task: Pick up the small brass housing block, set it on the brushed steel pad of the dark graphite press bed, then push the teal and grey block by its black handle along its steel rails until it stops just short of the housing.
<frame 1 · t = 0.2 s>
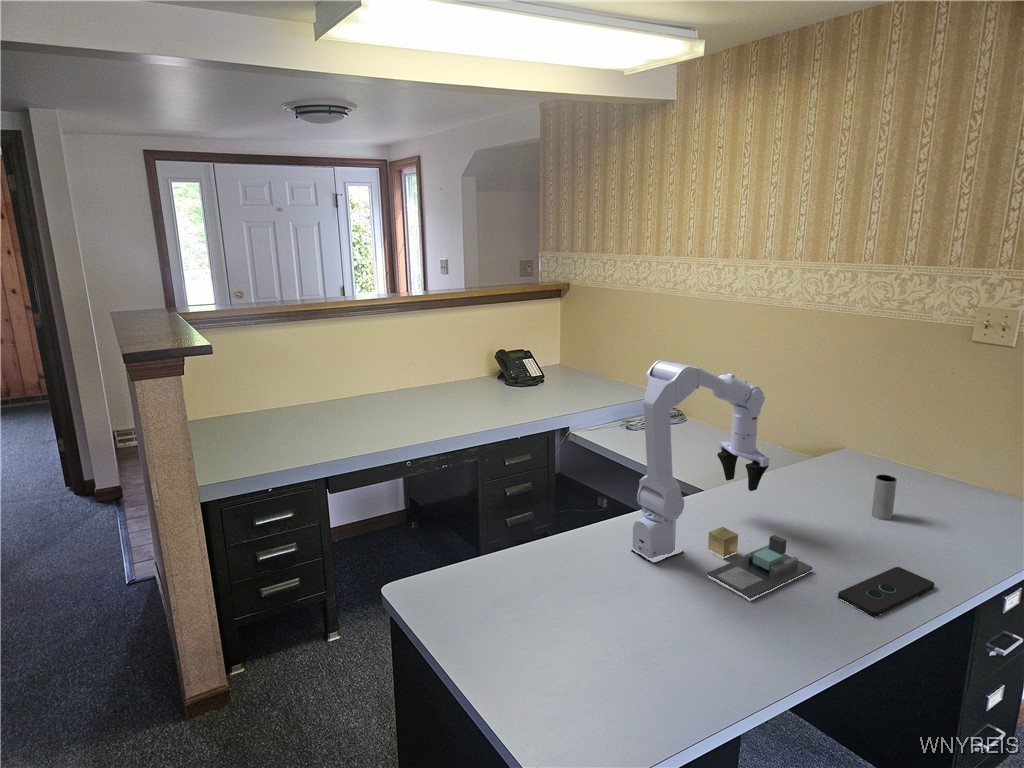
hand: (740, 484, 161), 10 cm above the table, tool pointing down, fingers open, 7 cm apart
teal and grey block: (770, 551, 140), point 5 cm above the table, slide at 0.0 cm
smart home device: (885, 595, 131), on the table
planter: (881, 516, 164), on the table
housing: (722, 553, 149), on the table
press bed: (759, 574, 139), on the table
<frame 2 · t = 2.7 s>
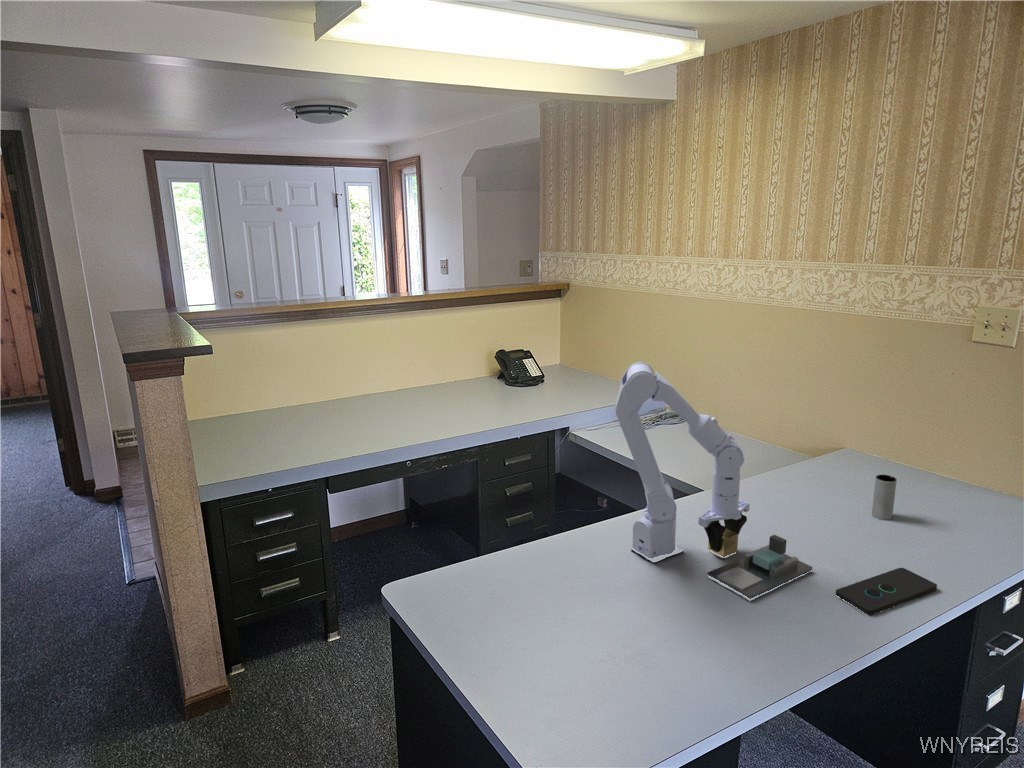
hand: (722, 547, 149), 1 cm above the table, tool pointing down, fingers closed on housing, 4 cm apart
housing: (722, 552, 149), on the table, touching gripper
everything else where it was.
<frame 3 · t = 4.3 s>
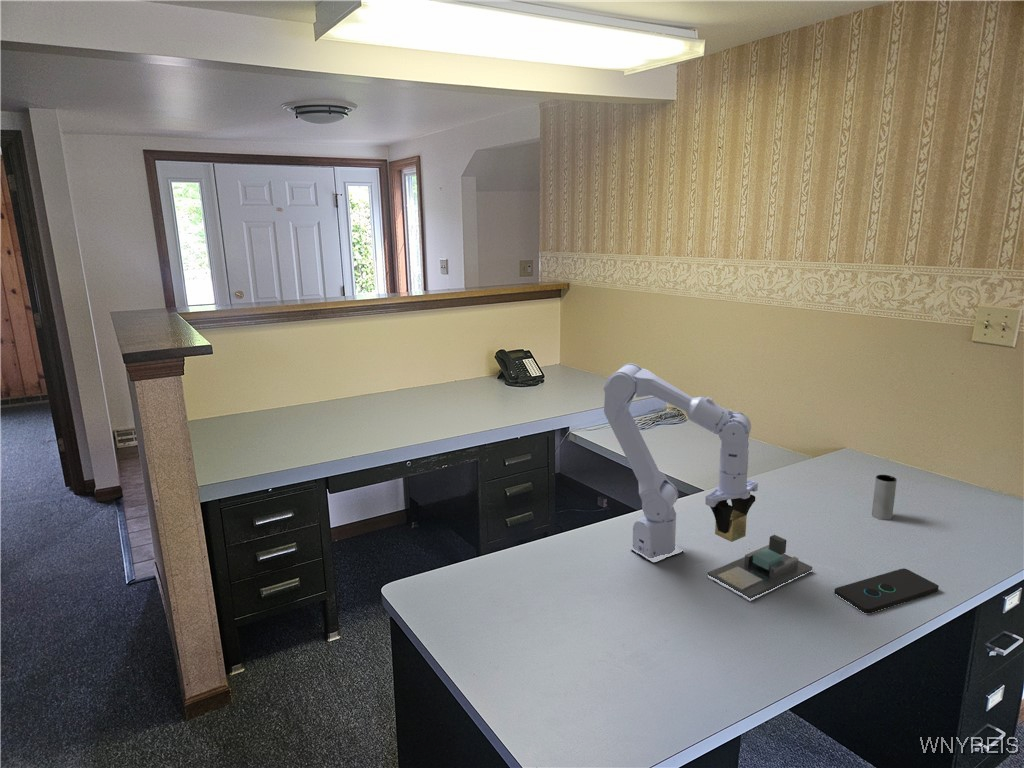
hand: (730, 528, 142), 8 cm above the table, tool pointing down, fingers closed on housing, 4 cm apart
housing: (730, 535, 143), point 7 cm above the table, touching gripper
everything else where it was.
when the fingers open (4 cm above the table, at t = 6.4 s): housing stays where it is, resting on press bed.
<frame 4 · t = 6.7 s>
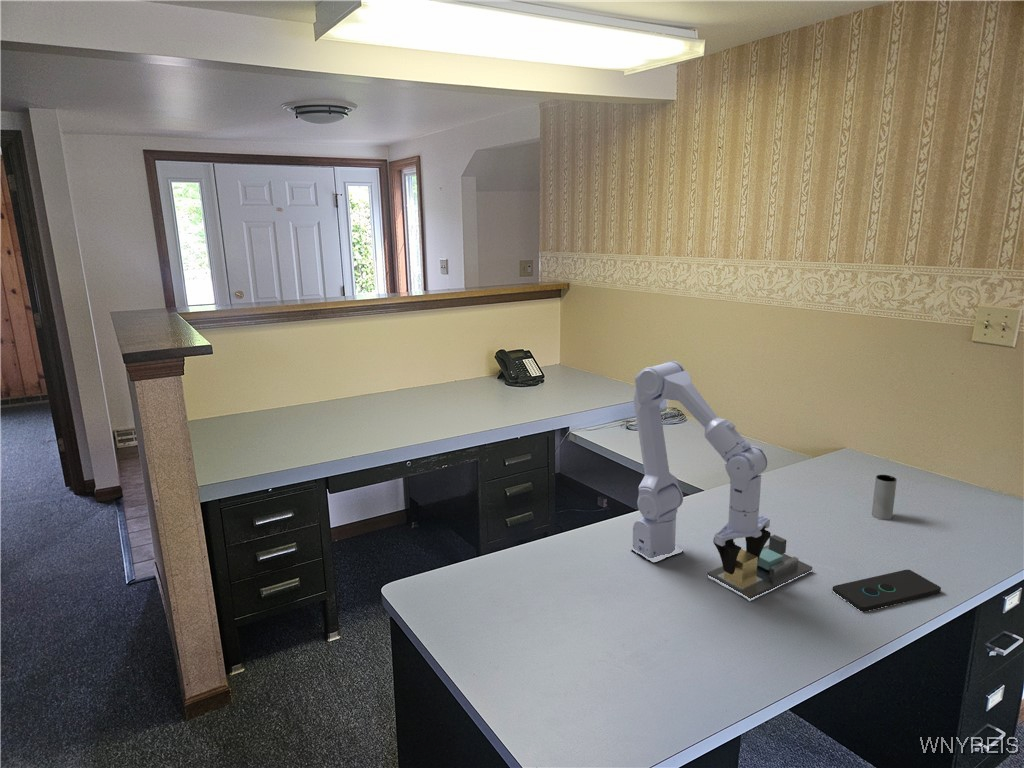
hand: (740, 566, 135), 4 cm above the table, tool pointing down, fingers open, 7 cm apart
housing: (740, 577, 136), point 2 cm above the table, touching press bed
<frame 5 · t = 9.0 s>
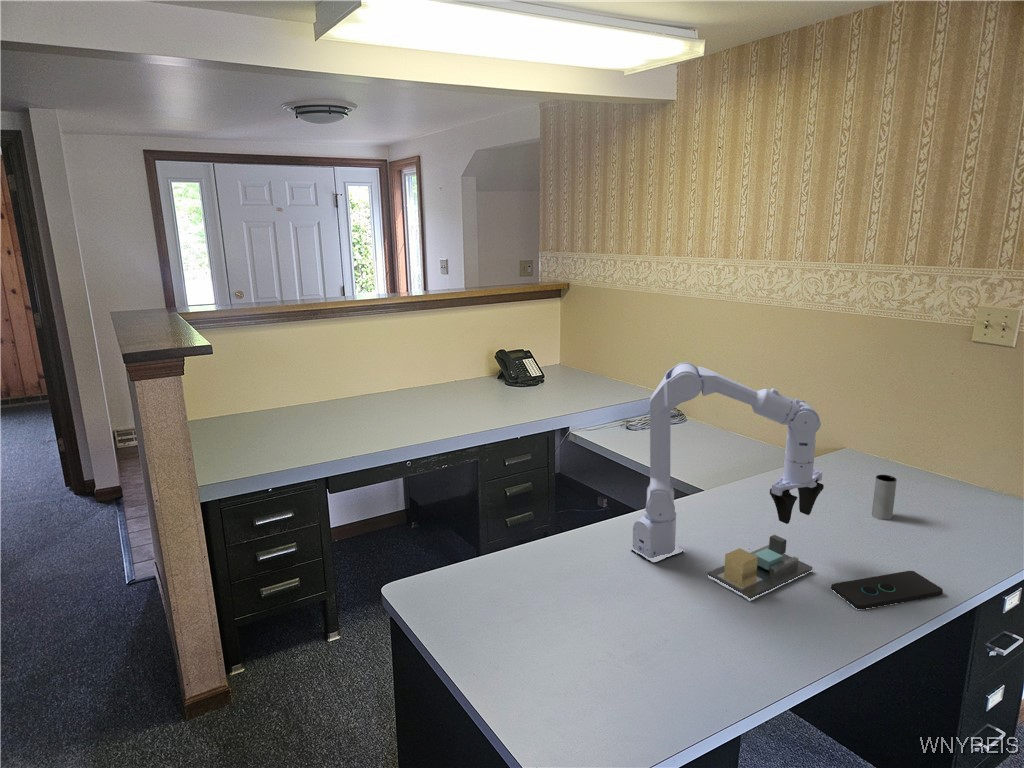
hand: (794, 517, 142), 10 cm above the table, tool pointing down, fingers open, 7 cm apart
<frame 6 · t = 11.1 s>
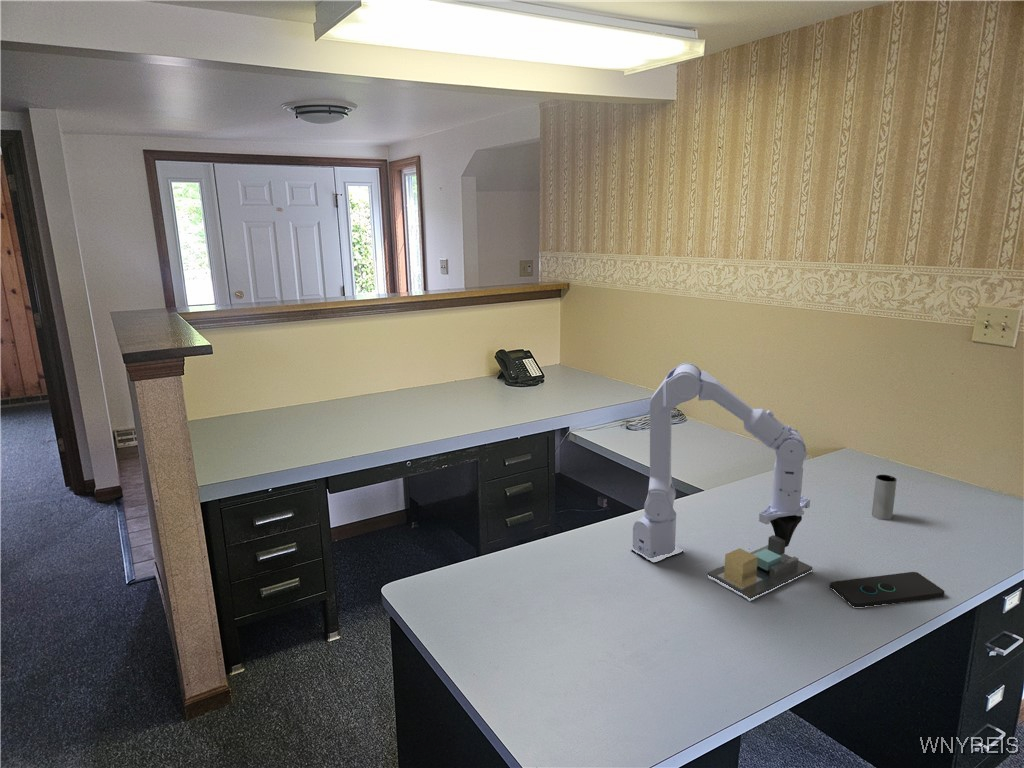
hand: (782, 545, 142), 5 cm above the table, tool pointing down, fingers closed
teal and grey block: (769, 552, 139), point 5 cm above the table, slide at 0.3 cm, touching gripper
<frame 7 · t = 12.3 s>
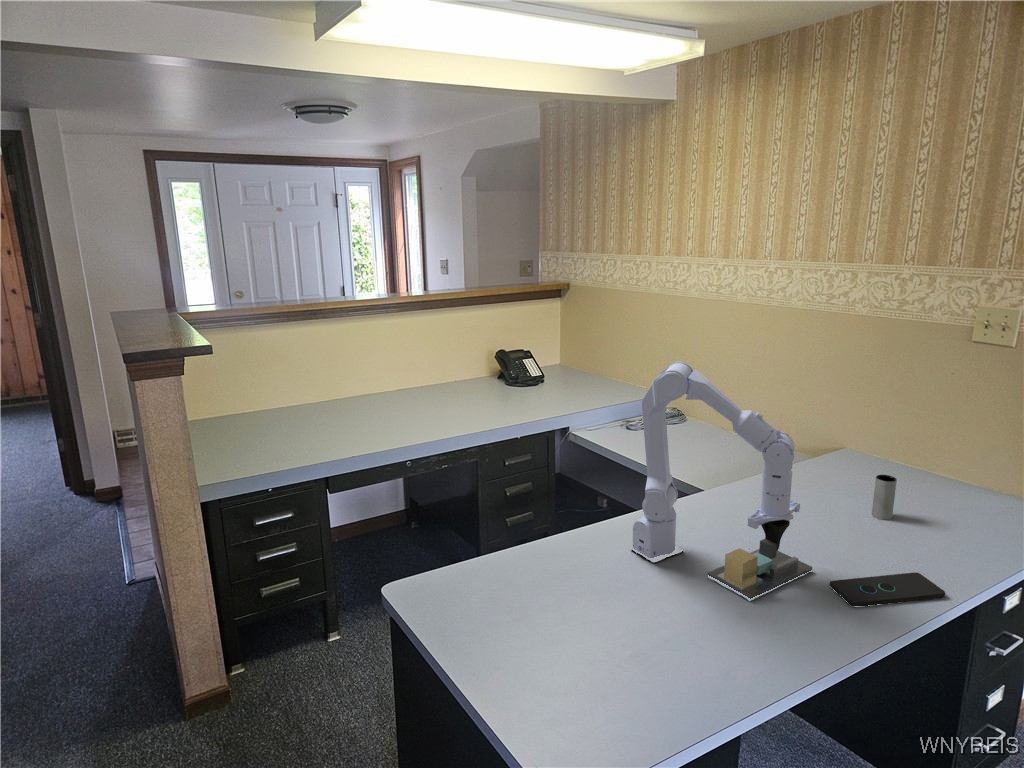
hand: (771, 549, 140), 5 cm above the table, tool pointing down, fingers closed, pressing on teal and grey block
teal and grey block: (760, 556, 138), point 5 cm above the table, slide at 3.2 cm, touching gripper
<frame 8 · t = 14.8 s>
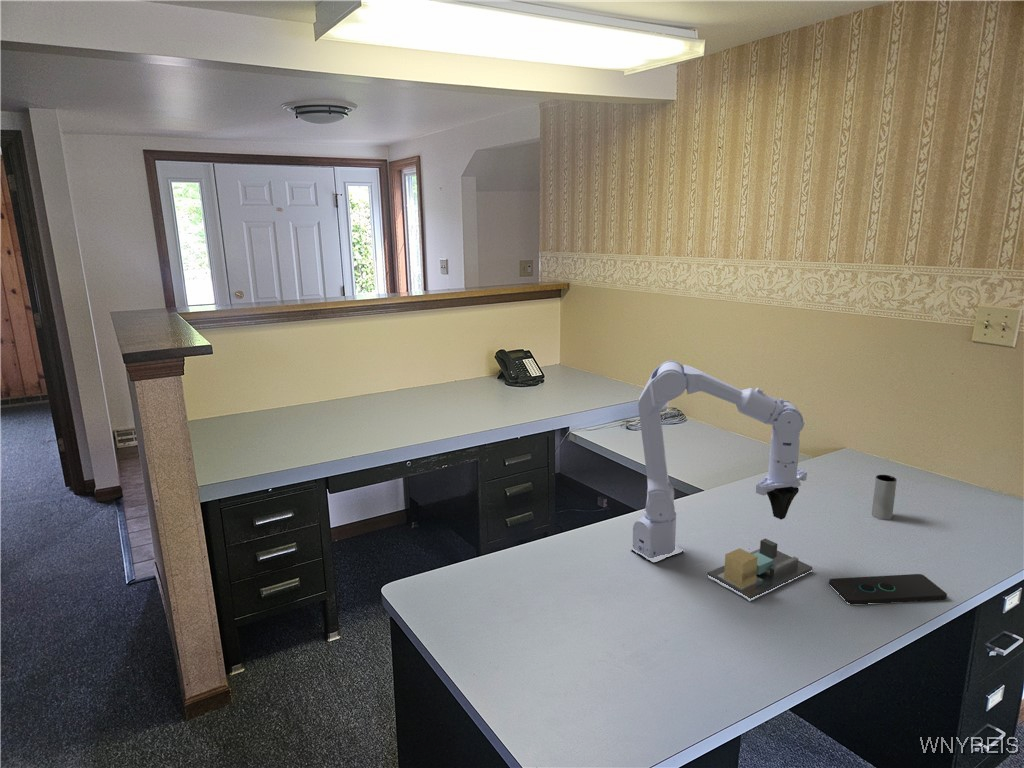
hand: (779, 517, 142), 10 cm above the table, tool pointing down, fingers closed
teal and grey block: (761, 555, 138), point 5 cm above the table, slide at 3.0 cm
at the end: housing 0.0 cm from the target spot on the press bed, point 1.6 cm above the press bed's base; teal and grey block slide at 3.0 cm; housing tilted 0° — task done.
